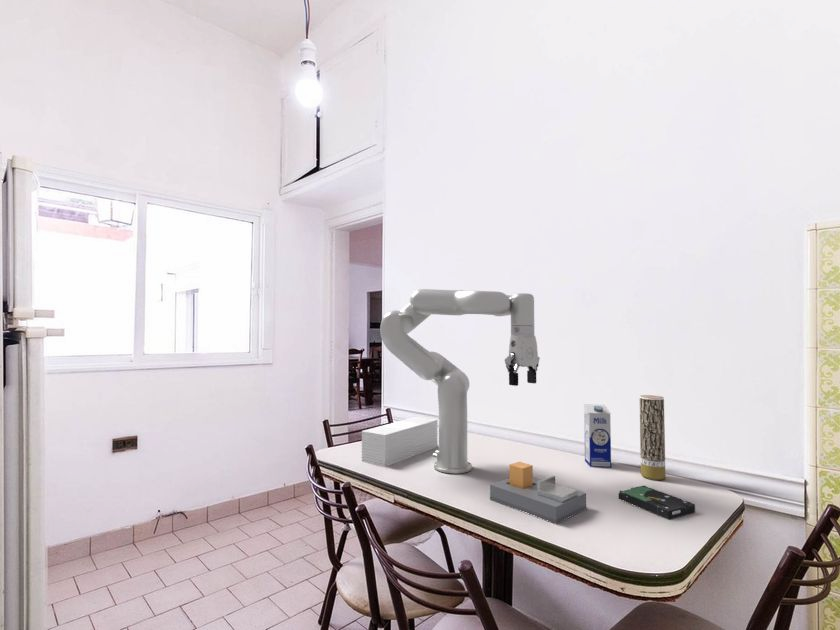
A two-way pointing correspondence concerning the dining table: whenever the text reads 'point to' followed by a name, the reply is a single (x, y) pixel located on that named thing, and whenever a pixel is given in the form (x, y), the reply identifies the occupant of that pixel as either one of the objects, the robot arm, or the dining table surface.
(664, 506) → the disk drive
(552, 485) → the plate
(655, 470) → the paper tube
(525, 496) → the socket block
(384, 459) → the stack of papers
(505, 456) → the dining table surface
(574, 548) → the dining table surface
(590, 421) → the milk carton
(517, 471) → the plug
